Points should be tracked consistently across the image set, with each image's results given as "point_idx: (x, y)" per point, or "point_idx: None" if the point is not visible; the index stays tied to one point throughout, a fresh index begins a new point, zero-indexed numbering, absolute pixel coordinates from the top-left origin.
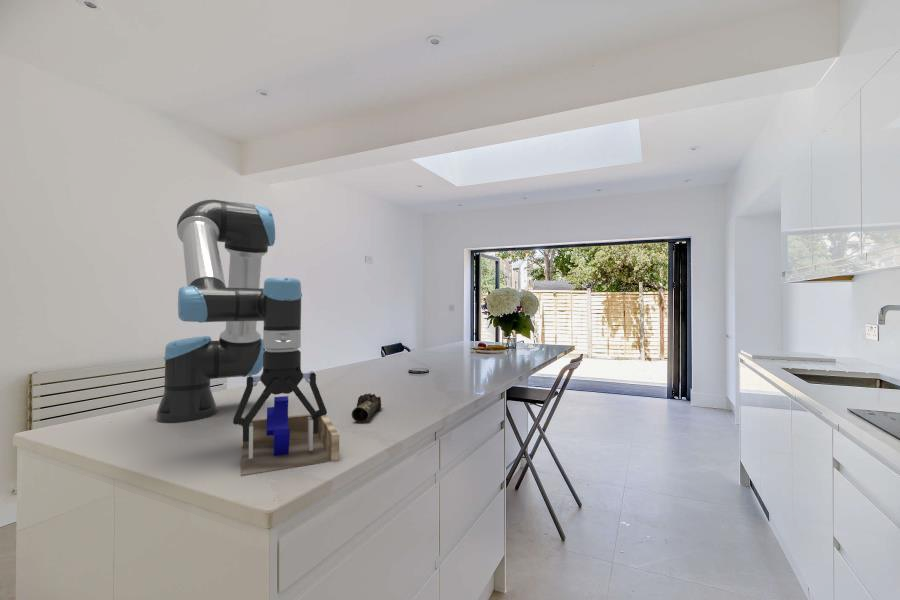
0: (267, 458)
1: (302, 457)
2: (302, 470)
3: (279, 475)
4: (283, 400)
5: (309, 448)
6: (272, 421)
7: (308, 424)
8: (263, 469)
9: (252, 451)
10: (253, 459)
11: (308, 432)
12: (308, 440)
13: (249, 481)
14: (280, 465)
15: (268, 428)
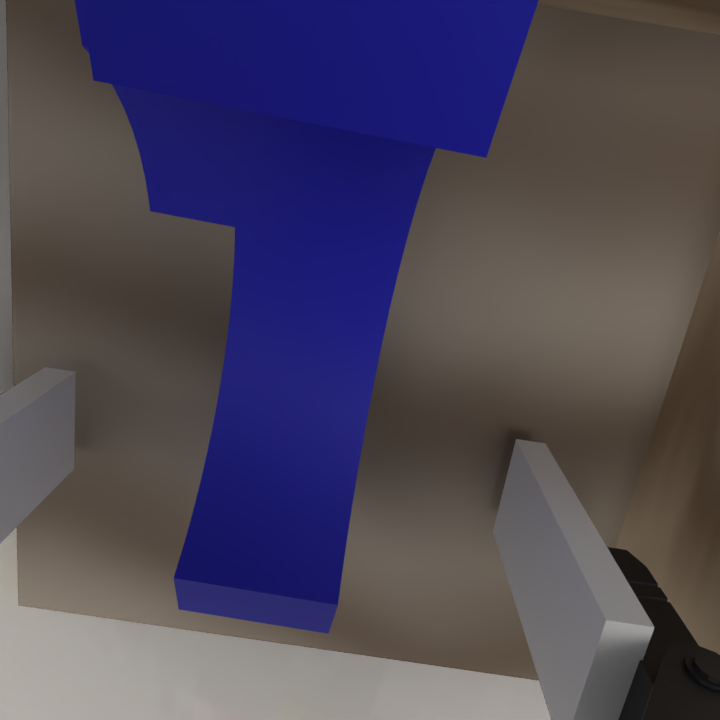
0: (196, 414)
1: (429, 528)
2: (377, 665)
3: (240, 665)
4: (351, 126)
5: (497, 541)
6: (205, 122)
7: (565, 614)
8: (151, 599)
9: (44, 493)
10: (97, 378)
11: (540, 558)
12: (520, 516)
13: (77, 659)
14: None
15: (168, 182)
